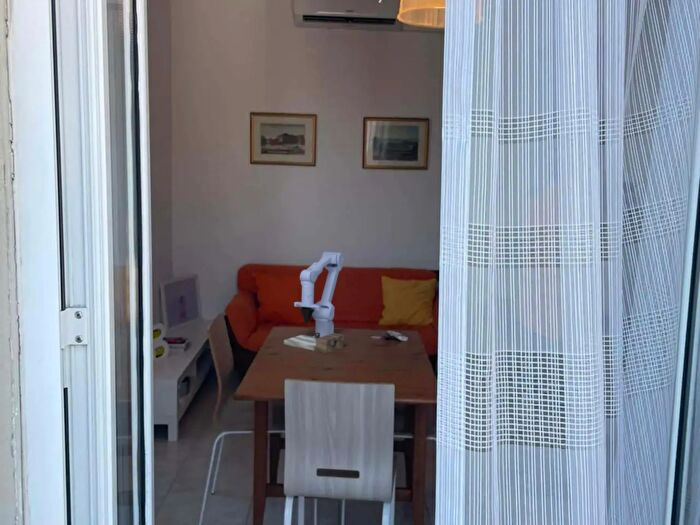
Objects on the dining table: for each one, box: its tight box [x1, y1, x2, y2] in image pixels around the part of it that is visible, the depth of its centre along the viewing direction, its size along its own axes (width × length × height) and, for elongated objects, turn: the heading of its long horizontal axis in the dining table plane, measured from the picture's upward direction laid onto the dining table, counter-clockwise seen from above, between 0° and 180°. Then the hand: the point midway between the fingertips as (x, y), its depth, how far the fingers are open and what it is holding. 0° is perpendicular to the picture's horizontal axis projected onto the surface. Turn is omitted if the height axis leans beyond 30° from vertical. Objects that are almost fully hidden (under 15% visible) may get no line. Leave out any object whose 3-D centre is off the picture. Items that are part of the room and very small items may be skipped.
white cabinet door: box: [283, 332, 345, 354], centre depth 288 cm, size 14×25×6 cm, turn 56°
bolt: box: [314, 332, 335, 345], centre depth 285 cm, size 3×10×4 cm, turn 56°
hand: (306, 323), depth 290 cm, fingers closed
